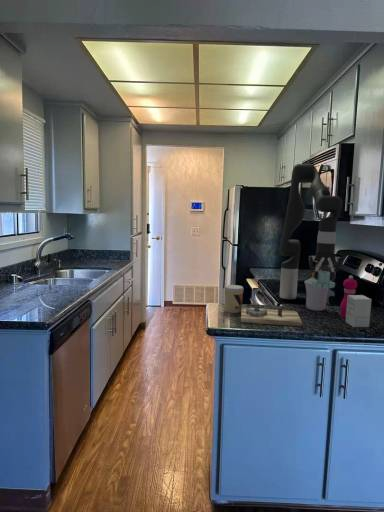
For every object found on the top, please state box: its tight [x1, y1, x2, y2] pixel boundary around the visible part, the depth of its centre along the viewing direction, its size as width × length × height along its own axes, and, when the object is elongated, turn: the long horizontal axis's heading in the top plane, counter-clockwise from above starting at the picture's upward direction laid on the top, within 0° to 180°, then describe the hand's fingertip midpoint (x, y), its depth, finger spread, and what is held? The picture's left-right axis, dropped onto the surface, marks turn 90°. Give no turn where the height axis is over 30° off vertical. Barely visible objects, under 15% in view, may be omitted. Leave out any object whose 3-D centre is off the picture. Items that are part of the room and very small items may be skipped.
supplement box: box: [345, 294, 372, 328], centre depth 154 cm, size 7×7×13 cm
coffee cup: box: [223, 284, 244, 314], centre depth 171 cm, size 9×9×12 cm
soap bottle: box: [304, 260, 330, 312], centre depth 176 cm, size 13×13×25 cm
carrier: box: [240, 302, 303, 327], centre depth 160 cm, size 16×26×6 cm, turn 81°
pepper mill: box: [339, 275, 358, 319], centre depth 164 cm, size 7×7×20 cm
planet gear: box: [311, 270, 336, 289], centre depth 156 cm, size 10×10×6 cm
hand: (323, 279), depth 156 cm, fingers closed on planet gear, 5 cm apart
